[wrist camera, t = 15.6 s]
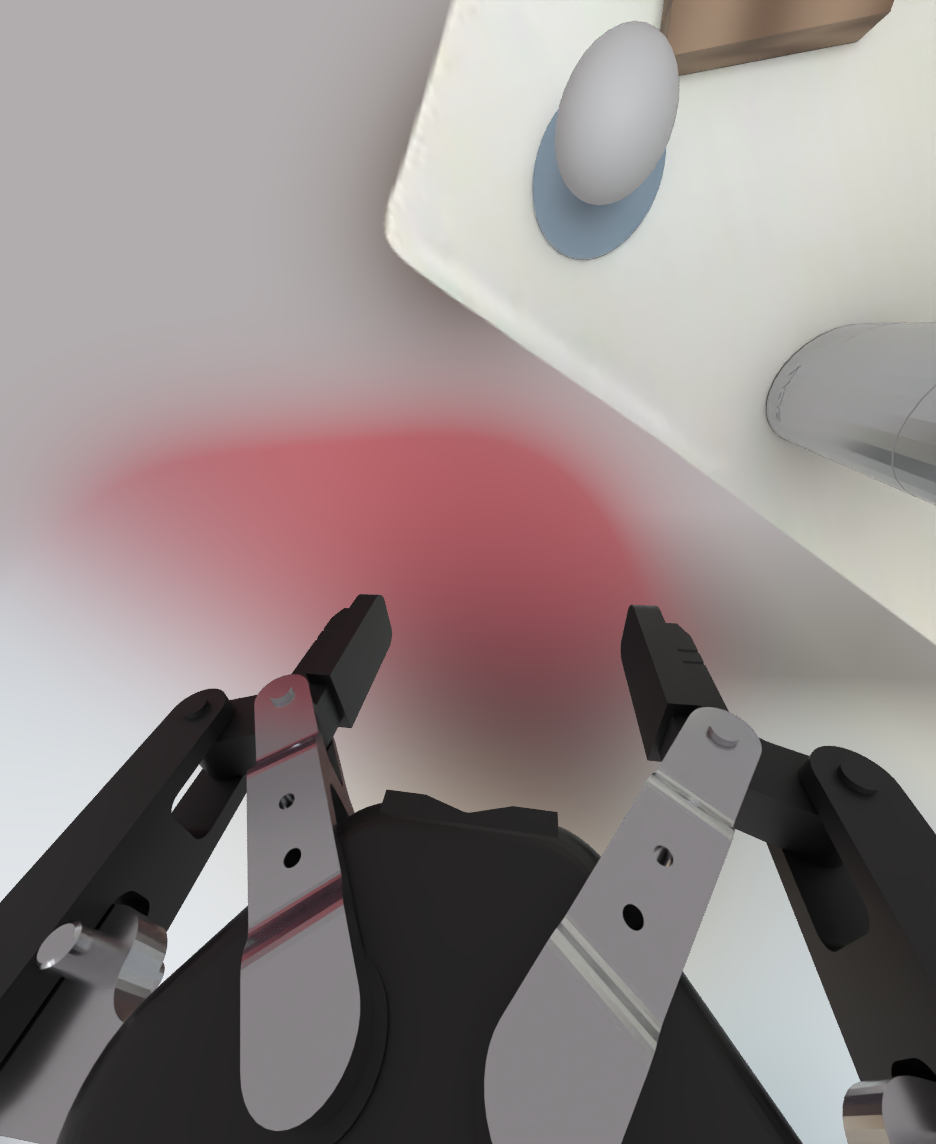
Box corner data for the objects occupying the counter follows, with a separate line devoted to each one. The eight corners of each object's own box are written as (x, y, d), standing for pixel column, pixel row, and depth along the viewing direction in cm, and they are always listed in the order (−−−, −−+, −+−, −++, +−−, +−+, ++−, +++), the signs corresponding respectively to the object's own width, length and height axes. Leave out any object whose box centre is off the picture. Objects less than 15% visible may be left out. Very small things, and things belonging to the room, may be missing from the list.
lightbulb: (534, 207, 27) (534, 146, 18) (582, 90, 24) (611, -58, 15) (603, 251, 28) (636, 212, 19) (659, 142, 25) (731, 32, 16)
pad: (675, 70, 24) (680, 60, 23) (648, 252, 28) (651, 250, 28) (534, 97, 25) (534, 89, 24) (531, 265, 30) (531, 264, 29)
